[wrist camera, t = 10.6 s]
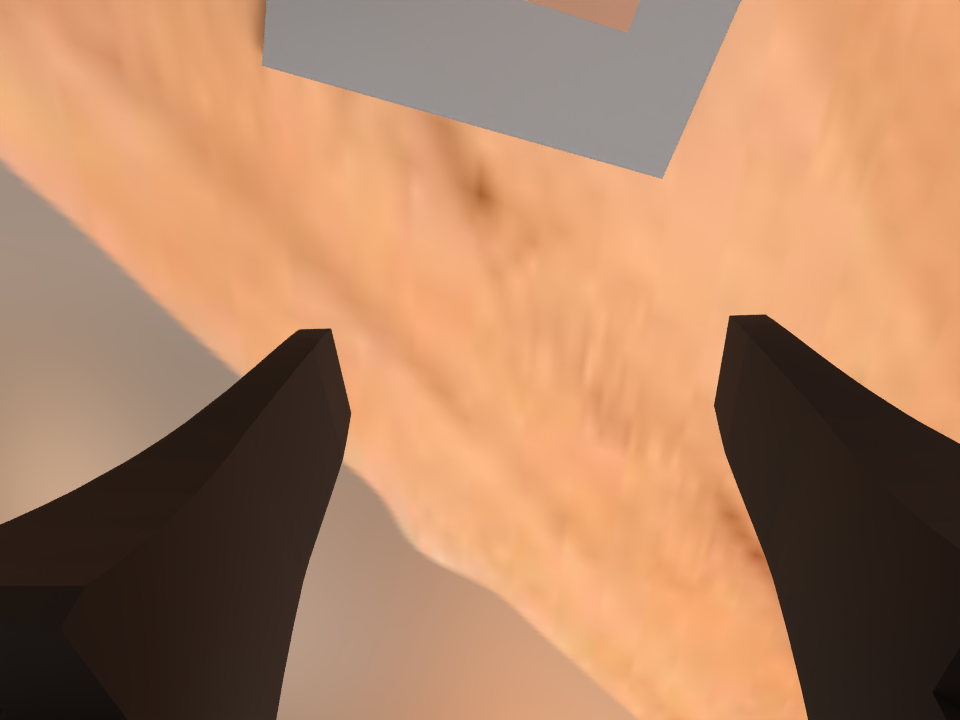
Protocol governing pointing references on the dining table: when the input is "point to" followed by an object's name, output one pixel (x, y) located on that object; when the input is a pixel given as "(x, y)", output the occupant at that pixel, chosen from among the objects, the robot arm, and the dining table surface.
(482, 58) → the slate mat
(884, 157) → the dining table surface
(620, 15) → the terracotta block
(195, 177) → the dining table surface
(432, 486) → the dining table surface
